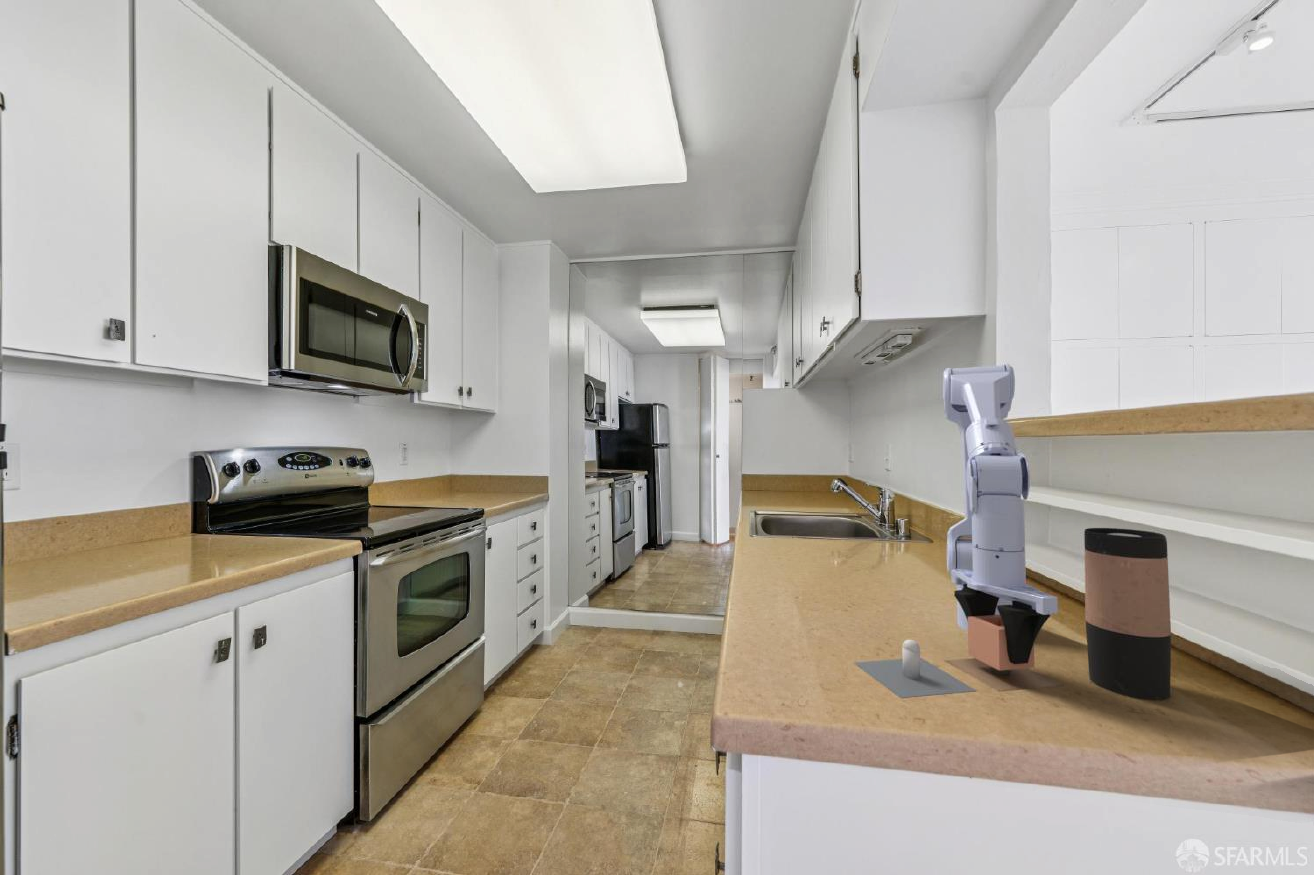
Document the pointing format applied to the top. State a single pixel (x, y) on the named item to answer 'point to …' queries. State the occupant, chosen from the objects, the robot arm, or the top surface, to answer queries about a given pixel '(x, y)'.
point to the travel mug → (1128, 612)
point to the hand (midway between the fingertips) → (1000, 653)
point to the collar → (992, 643)
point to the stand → (1003, 675)
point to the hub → (913, 675)
